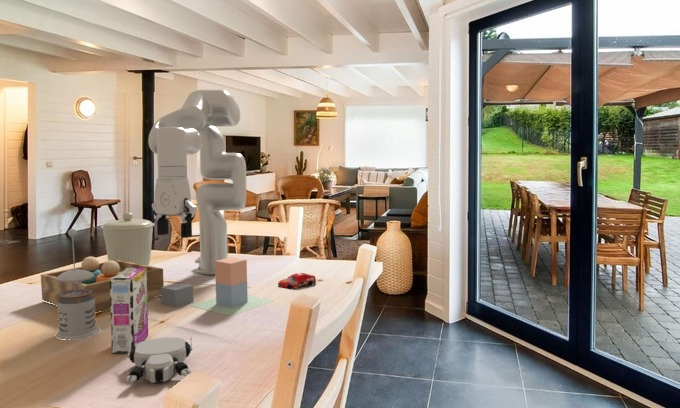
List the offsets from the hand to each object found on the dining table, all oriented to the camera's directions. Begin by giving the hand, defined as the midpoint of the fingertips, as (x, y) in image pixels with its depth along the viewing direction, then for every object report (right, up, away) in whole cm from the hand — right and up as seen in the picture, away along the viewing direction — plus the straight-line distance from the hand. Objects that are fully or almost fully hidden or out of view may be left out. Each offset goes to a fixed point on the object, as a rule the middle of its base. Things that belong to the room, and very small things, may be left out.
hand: (174, 235), depth 141 cm
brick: (+15, -13, +1) cm, 20 cm away
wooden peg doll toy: (-23, -19, +12) cm, 32 cm away
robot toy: (+10, -25, -39) cm, 47 cm away
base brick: (+15, -19, +2) cm, 24 cm away
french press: (-18, -22, -17) cm, 33 cm away
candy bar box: (-2, -23, -25) cm, 34 cm away
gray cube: (0, -20, +2) cm, 20 cm away
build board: (+15, -20, +2) cm, 25 cm away
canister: (-32, -16, +48) cm, 60 cm away
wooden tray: (-24, -19, +11) cm, 33 cm away
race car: (+31, -18, +25) cm, 44 cm away
